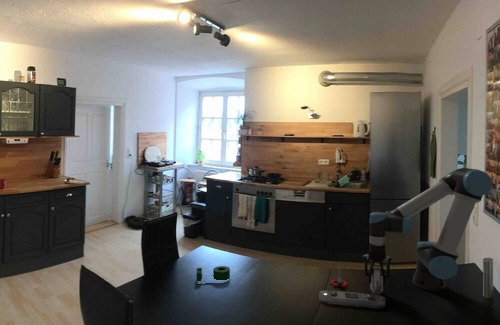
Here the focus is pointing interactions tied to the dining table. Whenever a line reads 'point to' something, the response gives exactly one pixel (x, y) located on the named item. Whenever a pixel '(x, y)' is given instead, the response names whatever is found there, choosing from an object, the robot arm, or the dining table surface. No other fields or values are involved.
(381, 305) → the grey rounded bar
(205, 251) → the dining table surface
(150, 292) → the dining table surface
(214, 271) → the slotted cylinder bracket
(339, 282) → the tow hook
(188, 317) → the dining table surface
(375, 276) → the link pin
